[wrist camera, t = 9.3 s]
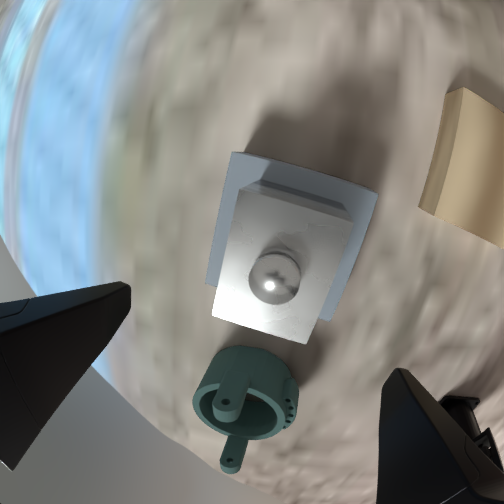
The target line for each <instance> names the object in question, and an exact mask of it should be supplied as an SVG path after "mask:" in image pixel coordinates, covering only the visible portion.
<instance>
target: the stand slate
mask: <svg viewBox="0 0 504 504" xmlns="http://www.w3.org/2000/svg"><path fill="white" fill-rule="evenodd" d="M259 179H263V180H266V181H270V182H274V183H277V184H281V185H284V186H288V187H291V188H295V189H298V190H302V191H305V192H308V193H312V194H315V195H318V196H321V197H325V198H328V199H331V200H334V201H337V202H340V203H343V205H344V207H345V208H346V210H347V212H348V213H349V215H350V217H351V219H352V220H353V222H354V225H353V228H352V230H351V233H350V236H349V239H348V242H347V245H346V248H345V250H344V253H343V256H342V258H341V261H340V264H339V266H338V269H337V272H336V274H335V277H334V279H333V282H332V285H331V287H330V290H329V292H328V295H327V297H326V299H325V302H324V304H323V307H322V309H321V311H320V314H319V316H318V318H319V319H322V320H326V321H329V322H330V321H331V319H332V316H333V314H334V312H335V309H336V307H337V305H338V303H339V300H340V298H341V296H342V293H343V291H344V288H345V286H346V283H347V281H348V279H349V276H350V274H351V271H352V268H353V266H354V263H355V261H356V258H357V255H358V253H359V250H360V247H361V245H362V242H363V239H364V236H365V234H366V231H367V228H368V225H369V222H370V219H371V216H372V213H373V210H374V207H375V204H376V201H377V198H378V194H377V193H376V192H374V191H373V190H371V189H369V188H367V187H364V186H361V185H358V184H355V183H352V182H349V181H346V180H343V179H340V178H337V177H334V176H331V175H327V174H324V173H321V172H318V171H314V170H311V169H307V168H304V167H300V166H297V165H293V164H290V163H286V162H282V161H278V160H275V159H271V158H267V157H263V156H259V155H254V154H250V153H246V152H232V153H231V157H230V162H229V166H228V171H227V175H226V180H225V184H224V189H223V194H222V198H221V203H220V208H219V213H218V217H217V222H216V227H215V232H214V237H213V243H212V248H211V253H210V258H209V264H208V269H207V274H206V280H205V283H206V284H209V285H212V286H215V287H218V282H219V278H220V273H221V268H222V264H223V259H224V254H225V250H226V245H227V240H228V236H229V231H230V227H231V222H232V218H233V214H234V209H235V205H236V200H237V196H238V192H239V189H240V188H242V187H244V186H246V185H249V184H251V183H253V182H255V181H257V180H259Z"/></svg>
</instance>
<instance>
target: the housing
mask: <svg viewBox="0 0 504 504" xmlns="http://www.w3.org/2000/svg"><path fill="white" fill-rule="evenodd" d="M353 225H354V222H353V220H352V219H351V217H350V215H349V213H348V212H347V210H346V208H345V207H344V205H343V203H340V202H337V201H334V200H331V199H328V198H325V197H321V196H318V195H315V194H312V193H308V192H305V191H302V190H298V189H295V188H291V187H288V186H284V185H281V184H277V183H274V182H270V181H266V180H263V179H259V180H257V181H255V182H253V183H251V184H249V185H246V186H244V187H242V188H240V189H239V192H238V196H237V200H236V205H235V209H234V214H233V218H232V222H231V227H230V231H229V236H228V240H227V245H226V250H225V254H224V259H223V264H222V268H221V273H220V278H219V282H218V287H217V292H216V297H215V302H214V307H213V312H212V315H213V316H216V317H219V318H222V319H225V320H228V321H231V322H234V323H237V324H240V325H243V326H246V327H249V328H252V329H255V330H259V331H262V332H265V333H268V334H271V335H275V336H278V337H281V338H285V339H288V340H292V341H295V342H299V343H302V344H306V343H307V341H308V339H309V337H310V335H311V332H312V330H313V328H314V325H315V323H316V321H317V319H318V316H319V314H320V311H321V309H322V307H323V304H324V302H325V299H326V297H327V295H328V292H329V290H330V287H331V285H332V282H333V279H334V277H335V274H336V272H337V269H338V266H339V264H340V261H341V258H342V256H343V253H344V250H345V248H346V245H347V242H348V239H349V236H350V233H351V230H352V228H353Z"/></svg>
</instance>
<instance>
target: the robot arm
mask: <svg viewBox="0 0 504 504" xmlns="http://www.w3.org/2000/svg"><path fill="white" fill-rule="evenodd" d="M130 308H131V287H130V285H128V284H126V283H123V282H121V281H118V282H113V283H108V284H102V285H97V286H92V287H87V288H81V289H76V290H71V291H66V292H60V293H55V294H50V295H44V296H39V297H34V298H31V299H29V298H28V299H23V300H18V301H11V302H5V303H0V461H1V462H2V463H3V464H4V465H5V466H6V467H8V468H9V469H10V470H11V471H13V470H14V469H15V467H16V466H17V465H18V463H19V461H20V460H21V458H22V457H23V456H24V454H25V453H26V451H27V450H28V448H29V447H30V445H31V444H32V443H33V441H34V440H35V438H36V437H37V436H38V434H39V432H40V431H41V429H42V428H43V427H44V426H45V424H46V423H47V421H48V420H49V419H50V417H51V416H52V415H53V413H54V412H55V411H56V409H57V408H58V407H59V405H60V404H61V403H62V401H63V400H64V399H65V397H66V396H67V395H68V394H69V392H70V391H71V390H72V388H73V387H74V386H75V384H76V383H77V382H78V381H79V379H80V378H81V377H82V376H83V374H84V373H85V372H86V371H87V369H88V368H89V367H90V366H91V364H92V363H93V362H94V361H95V359H96V358H97V357H98V356H99V354H100V353H101V352H102V351H103V350H104V348H105V347H106V346H107V345H108V343H109V342H110V340H111V339H112V337H113V336H114V334H115V333H116V331H117V330H118V328H119V327H120V325H121V324H122V322H123V321H124V319H125V318H126V316H127V315H128V313H129V311H130ZM479 403H480V400H479V398H468V397H456V396H445V397H444V398H443V399H442V400H441V401H440V402H439V403H438V402H437V401H436V400H435V399H434V398H433V397H432V395H431V394H430V393H429V392H428V391H427V390H426V389H425V388H424V387H423V386H422V385H421V384H420V382H419V381H418V380H417V379H416V378H415V377H414V376H413V375H412V374H411V373H410V372H409V371H408V370H407V369H403V368H395V369H394V370H393V372H392V373H391V375H390V376H389V378H388V379H387V380H386V382H385V383H384V385H383V387H382V393H381V408H380V420H379V461H378V485H377V499H376V504H504V469H503V465H502V461H501V458H500V454H499V451H498V448H497V445H496V442H495V440H494V437H493V435H492V433H491V430H490V428H489V427H488V428H487V429H486V430H485V431H484V432H482V433H481V431H480V428H479V425H478V423H477V420H476V417H475V415H474V412H473V410H474V409H475V408H476V406H477V405H478V404H479ZM489 447H491V448H490V449H489ZM0 504H1V503H0Z"/></svg>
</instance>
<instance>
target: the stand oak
mask: <svg viewBox="0 0 504 504" xmlns="http://www.w3.org/2000/svg"><path fill="white" fill-rule="evenodd" d="M418 207H419V208H421V209H423V210H424V211H426V212H428V213H430V214H431V215H433V216H435V217H437V218H440V219H442V220H444V221H447V222H449V223H451V224H453V225H455V226H458V227H460V228H462V229H464V230H466V231H468V232H470V233H472V234H475V235H477V236H479V237H481V238H483V239H485V240H487V241H489V242H491V243H493V244H494V245H496V246H498V247H500V248H502V249H504V113H503V112H502V111H500V110H499V109H497V108H496V107H495V106H493V105H492V104H490V103H489V102H487V101H486V100H484V99H483V98H481V97H480V96H478V95H476V94H475V93H473V92H472V91H470V90H468V89H467V88H465V87H462V88H460V89H457V90H454V91H452V92H450V93H447V94H445V101H444V107H443V112H442V118H441V123H440V128H439V132H438V137H437V141H436V146H435V150H434V154H433V158H432V162H431V166H430V169H429V173H428V177H427V180H426V184H425V187H424V190H423V193H422V197H421V200H420V203H419V206H418Z"/></svg>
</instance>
